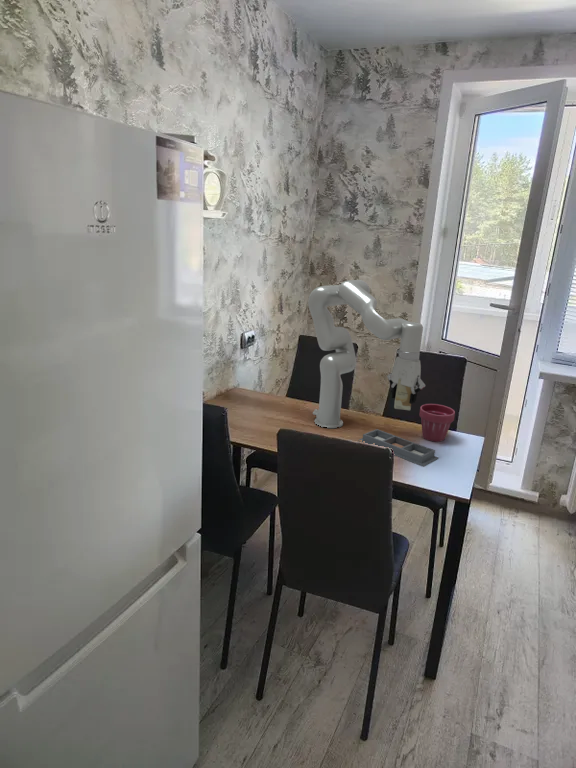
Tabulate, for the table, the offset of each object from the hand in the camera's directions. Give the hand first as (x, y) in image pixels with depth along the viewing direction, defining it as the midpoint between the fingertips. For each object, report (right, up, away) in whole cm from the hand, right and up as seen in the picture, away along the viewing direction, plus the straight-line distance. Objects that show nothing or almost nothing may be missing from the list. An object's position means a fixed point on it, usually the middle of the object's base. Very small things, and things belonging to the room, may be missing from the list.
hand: (403, 399), depth 199 cm
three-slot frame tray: (-1, -20, +6) cm, 21 cm away
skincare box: (0, -3, +1) cm, 4 cm away
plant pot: (+17, -17, +20) cm, 32 cm away
